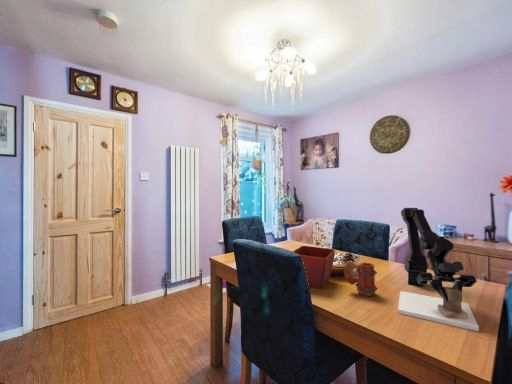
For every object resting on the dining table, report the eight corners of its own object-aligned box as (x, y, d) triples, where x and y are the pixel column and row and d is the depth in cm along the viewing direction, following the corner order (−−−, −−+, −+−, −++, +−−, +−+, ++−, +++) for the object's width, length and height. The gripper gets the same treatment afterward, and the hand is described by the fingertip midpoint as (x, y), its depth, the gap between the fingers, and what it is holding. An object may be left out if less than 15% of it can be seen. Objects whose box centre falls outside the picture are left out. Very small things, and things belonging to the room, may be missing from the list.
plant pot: (326, 292, 116) (325, 258, 116) (289, 285, 126) (289, 253, 126) (336, 279, 132) (335, 249, 132) (302, 273, 142) (302, 245, 142)
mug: (376, 291, 116) (375, 260, 116) (378, 298, 109) (378, 265, 109) (344, 287, 121) (343, 258, 121) (344, 294, 114) (343, 263, 113)
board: (398, 313, 96) (398, 309, 96) (400, 294, 113) (400, 290, 113) (478, 331, 83) (478, 327, 83) (467, 306, 100) (467, 303, 100)
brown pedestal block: (445, 317, 90) (445, 292, 89) (437, 309, 95) (437, 285, 95) (468, 319, 88) (467, 293, 88) (458, 311, 94) (457, 286, 94)
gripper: (419, 252, 97) (433, 291, 87) (473, 254, 93) (495, 295, 83) (411, 265, 105) (423, 302, 95) (461, 267, 101) (479, 306, 90)
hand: (454, 301), depth 90 cm, fingers closed on brown pedestal block, 4 cm apart
